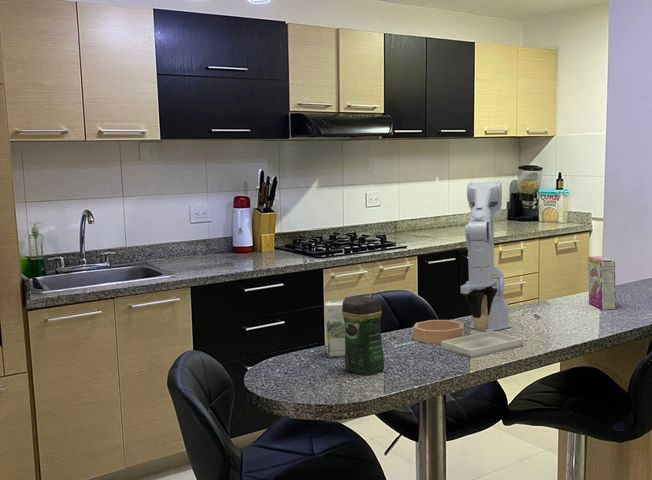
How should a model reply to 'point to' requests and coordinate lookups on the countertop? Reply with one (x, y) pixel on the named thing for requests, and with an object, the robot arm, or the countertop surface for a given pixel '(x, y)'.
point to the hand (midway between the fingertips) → (481, 316)
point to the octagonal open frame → (437, 331)
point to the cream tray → (481, 344)
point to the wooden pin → (482, 316)
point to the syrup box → (335, 328)
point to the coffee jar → (363, 335)
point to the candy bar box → (601, 282)
